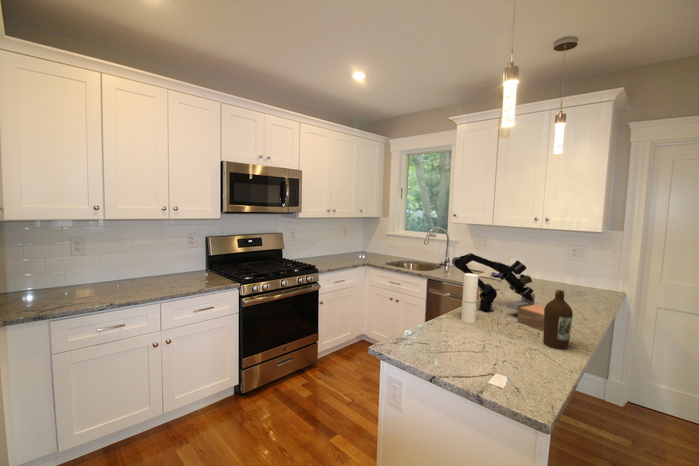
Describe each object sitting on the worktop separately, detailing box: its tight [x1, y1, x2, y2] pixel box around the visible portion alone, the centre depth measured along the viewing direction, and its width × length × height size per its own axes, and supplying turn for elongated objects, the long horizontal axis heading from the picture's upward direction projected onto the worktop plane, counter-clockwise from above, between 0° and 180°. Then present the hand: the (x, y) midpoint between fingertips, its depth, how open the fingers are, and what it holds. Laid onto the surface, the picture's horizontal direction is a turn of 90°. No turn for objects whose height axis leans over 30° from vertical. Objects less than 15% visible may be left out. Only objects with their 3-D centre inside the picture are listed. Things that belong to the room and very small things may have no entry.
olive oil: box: [542, 289, 574, 351], centre depth 142 cm, size 11×11×25 cm
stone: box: [520, 292, 536, 306], centre depth 187 cm, size 5×5×7 cm
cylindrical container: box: [460, 273, 479, 324], centre depth 170 cm, size 7×7×25 cm
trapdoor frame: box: [517, 308, 544, 332], centre depth 169 cm, size 18×14×8 cm
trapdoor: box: [507, 299, 545, 315], centre depth 173 cm, size 14×23×3 cm, turn 29°
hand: (530, 299), depth 187 cm, fingers closed on stone, 5 cm apart
